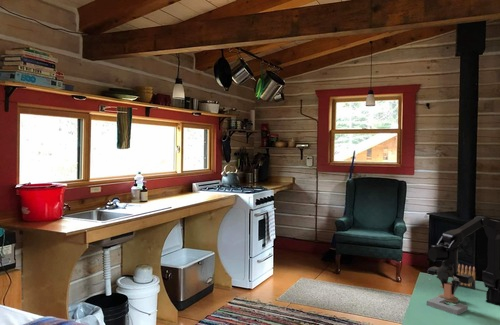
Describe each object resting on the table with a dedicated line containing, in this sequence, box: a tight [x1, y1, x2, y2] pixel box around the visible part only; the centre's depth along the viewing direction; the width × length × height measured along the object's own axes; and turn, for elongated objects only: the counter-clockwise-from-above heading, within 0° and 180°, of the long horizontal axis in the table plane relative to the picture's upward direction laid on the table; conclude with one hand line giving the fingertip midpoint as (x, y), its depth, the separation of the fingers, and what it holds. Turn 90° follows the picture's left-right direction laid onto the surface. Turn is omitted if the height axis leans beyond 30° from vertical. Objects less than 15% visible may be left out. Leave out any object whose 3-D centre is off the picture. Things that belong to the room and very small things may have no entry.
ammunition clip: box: [452, 263, 476, 290], centre depth 220 cm, size 11×2×12 cm, turn 52°
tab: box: [443, 281, 455, 298], centre depth 189 cm, size 3×4×6 cm
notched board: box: [426, 296, 469, 316], centre depth 189 cm, size 14×10×2 cm
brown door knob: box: [437, 283, 459, 304], centre depth 199 cm, size 9×9×6 cm
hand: (449, 293), depth 189 cm, fingers closed on tab, 3 cm apart
